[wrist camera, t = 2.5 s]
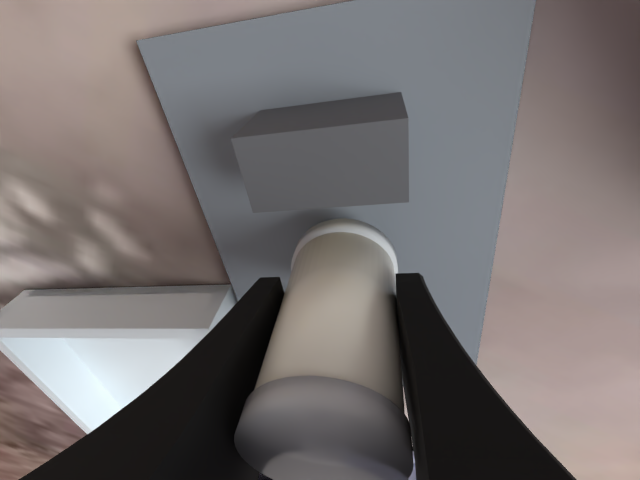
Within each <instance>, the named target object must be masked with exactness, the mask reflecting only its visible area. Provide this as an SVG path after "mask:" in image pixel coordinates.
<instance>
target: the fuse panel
mask: <svg viewBox="0 0 640 480" xmlns="http://www.w3.org/2000/svg"><path fill="white" fill-rule="evenodd" d="M535 3H536V0H353V1H348V2H342V3H337V4H331V5H326V6H321V7H315V8H310V9H304V10H299V11H294V12H288V13H283V14H277V15H272V16H267V17H261V18H256V19H250V20H245V21H240V22H234V23H229V24H223V25H218V26H213V27H207V28H202V29H196V30H191V31H186V32H180V33H175V34H169V35H164V36H159V37H153V38H148V39H142V40H137V44H138V47H139V49H140V52H141V54H142V57H143V59H144V62H145V65H146V67H147V70H148V72H149V75H150V77H151V80H152V82H153V85H154V88H155V90H156V93H157V95H158V98H159V100H160V103H161V105H162V108H163V111H164V113H165V116H166V118H167V121H168V123H169V126H170V128H171V131H172V134H173V136H174V139H175V141H176V144H177V146H178V149H179V151H180V154H181V157H182V159H183V162H184V164H185V167H186V169H187V172H188V174H189V177H190V180H191V182H192V185H193V187H194V190H195V192H196V195H197V197H198V200H199V203H200V205H201V208H202V210H203V213H204V215H205V218H206V220H207V223H208V226H209V228H210V231H211V233H212V236H213V238H214V241H215V244H216V246H217V249H218V251H219V254H220V256H221V259H222V261H223V264H224V267H225V269H226V272H227V274H228V277H229V279H230V282H231V284H232V287H233V290H234V292H235V295H236V297H237V300H238V301H239V300H240V299H241V298H242V296H243V295H244V294H245V293H246V292H247V291H248V290H249V289H250V288H251V287H252V285H253V284H254V283H255V282H256V281H257V280H258V279H259V278H260V277H280V279H281V283H282V286H283V290H284V294H285V291H286V287H287V284H288V281H289V278H290V275H291V262H292V258H293V255H294V252H295V249H296V246H297V243H298V241H299V239H300V238H301V237H302V235H303V234H304V233H305V232H306V231H307V230H308V229H310V228H311V227H313V226H314V225H316V224H318V223H321V222H324V221H327V220H331V219H354V220H359V221H362V222H365V223H368V224H370V225H372V226H374V227H375V228H377V229H379V230H380V231H381V232H382V233H384V234H385V235H386V236H387V238H388V239H389V240H390V241H391V243H392V244H393V247H394V249H395V251H396V255H397V264H398V273H420V274H421V275H422V276H423V278H424V281H425V283H426V285H427V287H428V290H429V292H430V294H431V296H432V298H433V299H434V301H435V303H436V305H437V307H438V308H439V310H440V312H441V314H442V315H443V317H444V319H445V320H446V322H447V323H448V325H449V327H450V328H451V330H452V331H453V333H454V334H455V336H456V337H457V339H458V340H459V342H460V343H461V345H462V346H463V348H464V349H465V351H466V352H467V353H468V355H469V356H470V358H471V359H472V360H473V362H474V363H475V364H477V358H478V352H479V346H480V340H481V333H482V327H483V321H484V315H485V309H486V303H487V297H488V291H489V285H490V278H491V272H492V266H493V260H494V254H495V248H496V242H497V236H498V230H499V223H500V217H501V211H502V205H503V199H504V193H505V187H506V181H507V174H508V168H509V162H510V156H511V150H512V144H513V138H514V132H515V126H516V119H517V113H518V107H519V101H520V95H521V89H522V83H523V77H524V71H525V64H526V58H527V52H528V46H529V40H530V34H531V28H532V22H533V16H534V9H535ZM402 385H403V380H402Z"/></svg>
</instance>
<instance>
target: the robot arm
mask: <svg viewBox="0 0 640 480" xmlns="http://www.w3.org/2000/svg"><path fill="white" fill-rule="evenodd" d="M395 275H396V300H397V315H398V328H399V341H400V356H401V371H402V380H403V386H404V392H405V399H406V405H407V411H408V418H409V424H410V428H411V437H412V443H413V464H414V466H413V471H412V473H411V476H410V477H409V478H408V480H576V479H575V478H574V477H573V476H572V474H571V473H570V472H569V471H568V470H567V469H566V468H565V467H564V466H563V465H562V464H561V463H560V462H559V461H558V460H557V459H556V458H555V457H554V456H553V455H552V454H551V453H550V452H549V450H548V449H547V448H546V447H545V446H544V445H543V444H542V443H541V442H540V441H539V440H538V439H537V438H536V437H535V436H534V435H533V434H532V432H531V431H530V430H529V429H528V428H527V427H526V426H525V424H524V423H523V422H522V421H521V420H520V419H519V418H518V416H517V415H516V414H515V413H514V412H513V411H512V410H511V408H510V407H509V406H508V405H507V404H506V402H505V401H504V400H503V399H502V398H501V396H500V395H499V394H498V393H497V392H496V390H495V389H494V388H493V387H492V385H491V384H490V383H489V382H488V380H487V379H486V378H485V376H484V375H483V374H482V372H481V371H480V370H479V369H478V367H477V366H476V364H475V363H474V362H473V360H472V359H471V358H470V356H469V355H468V353H467V352H466V351H465V349H464V348H463V346H462V345H461V343H460V342H459V340H458V339H457V337H456V336H455V334H454V333H453V331H452V330H451V328H450V327H449V325H448V323H447V322H446V320H445V319H444V317H443V315H442V314H441V312H440V310H439V308H438V307H437V305H436V303H435V301H434V299H433V298H432V296H431V294H430V292H429V290H428V287H427V285H426V283H425V281H424V278H423V276H422V275H421V274H420V273H395ZM283 297H284V290H283V286H282V283H281V279H280V277H260V278H259V279H258V280H257V281H256V282H255V283H254V284H253V285H252V287H251V288H250V289H249V290H248V291H247V292H246V293H245V294H244V295H243V296H242V298H241V299H240V300H239V301H238V302H237V303H236V304H235V305H234V306H233V307H232V309H231V310H230V311H229V312H228V313H227V314H226V315H225V316H224V317H223V318H222V319H221V320H220V321H219V322H218V323H217V325H216V326H215V327H214V328H213V329H212V330H211V331H210V332H209V333H208V334H207V335H206V336H205V337H204V338H203V339H202V340H201V341H200V342H199V343H198V344H197V345H196V346H195V347H194V348H193V349H192V350H191V351H190V352H189V353H187V354H186V355H185V356H184V357H183V358H182V359H181V360H180V361H179V362H178V363H177V364H176V365H175V366H174V367H173V368H171V369H170V370H169V371H168V372H167V373H166V374H165V375H163V376H162V377H161V378H160V379H159V380H158V381H156V382H155V383H154V384H153V385H152V386H150V387H149V388H148V389H147V390H146V391H144V392H143V393H142V394H141V395H139V396H138V397H137V398H136V399H134V400H133V401H132V402H130V403H129V404H128V405H126V406H125V407H124V408H122V409H121V410H120V411H118V412H117V413H116V414H114V415H113V416H112V417H111V418H109V419H108V420H107V421H105V422H104V423H103V424H101V425H100V426H99V427H97V428H96V429H94V430H93V431H92V432H90V433H89V434H87V435H86V436H84V437H83V438H82V439H80V440H79V441H77V442H76V443H74V444H73V445H71V446H70V447H69V448H67V449H65V450H64V451H62V452H61V453H59V454H58V455H56V456H55V457H53V458H52V459H50V460H49V461H47V462H46V463H44V464H43V465H41V466H40V467H38V468H37V469H35V470H33V471H32V472H30V473H29V474H27V475H26V476H24V477H22V478H21V479H19V480H258V476H259V471H257V470H256V469H254V468H253V467H251V466H250V465H249V464H248V463H247V462H246V461H245V460H244V459H243V458H242V457H241V456H240V454H239V453H238V451H237V449H236V447H235V443H234V435H235V432H236V429H237V426H238V423H239V420H240V416H241V413H242V410H243V407H244V404H245V402H246V399H247V398H248V396H249V395H250V394H251V393H252V392H253V391H254V389H255V386H256V383H257V379H258V376H259V373H260V370H261V367H262V364H263V360H264V357H265V354H266V351H267V348H268V345H269V341H270V338H271V335H272V332H273V329H274V325H275V322H276V319H277V316H278V313H279V310H280V306H281V303H282V300H283Z"/></svg>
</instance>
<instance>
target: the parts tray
mask: <svg viewBox="0 0 640 480" xmlns="http://www.w3.org/2000/svg"><path fill="white" fill-rule="evenodd" d="M237 302H238V300H237V298H236V295H235V293H234V290H233V288H232V285H231V284H230V285H191V286H153V287H114V288H76V289H37V290H24V291H23V292H21V293H20V294H19V295H18V296H17V297H15V298H14V299H13V300H12V301H10V302H9V303H8V304H7V305H6V306H4V307H3V308H2V309H1V310H0V350H1V351H2V352H3V353H4V354H5V355H6V356H7V357H8V358H9V359H10V360H11V361H12V362H13V363H14V364H15V365H16V366H17V367H18V368H19V369H20V370H21V371H22V372H23V373H24V374H25V375H26V376H27V377H29V378H30V379H31V380H32V381H33V382H34V383H35V384H36V385H37V386H38V387H39V388H40V389H41V390H42V391H43V392H44V393H45V394H46V395H47V396H48V397H49V398H50V399H51V400H52V401H53V402H54V403H55V404H56V405H57V406H59V407H60V408H61V409H62V410H63V411H64V412H65V413H66V414H67V415H68V416H69V417H70V418H71V419H72V420H73V421H74V422H75V423H76V424H77V425H78V426H79V427H80V428H81V429H82V430H83V431H84V432H85V433H86V434H89V433H90V432H92V431H93V430H94V429H96V428H97V427H99V426H100V425H101V424H103V423H104V422H105V421H107V420H108V419H109V418H111V417H112V416H113V415H114V414H116V413H117V412H118V411H120V410H121V409H122V408H124V407H125V406H126V405H128V404H129V403H130V402H132V401H133V400H134V399H136V398H137V397H138V396H139V395H141V394H142V393H143V392H144V391H146V390H147V389H148V388H149V387H150V386H152V385H153V384H154V383H155V382H156V381H158V380H159V379H160V378H161V377H162V376H163V375H165V374H166V373H167V372H168V371H169V370H170V369H171V368H173V367H174V366H175V365H176V364H177V363H178V362H179V361H180V360H181V359H182V358H183V357H184V356H185V355H186V354H187V353H189V352H190V351H191V350H192V349H193V348H194V347H195V346H196V345H197V344H198V343H199V342H200V341H201V340H202V339H203V338H204V337H205V336H206V335H207V334H208V333H209V332H210V331H211V330H212V329H213V328H214V327H215V326H216V325H217V323H218V322H219V321H220V320H221V319H222V318H223V317H224V316H225V315H226V314H227V313H228V312H229V311H230V310H231V309H232V307H233V306H234V305H235V304H236V303H237Z"/></svg>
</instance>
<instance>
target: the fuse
mask: <svg viewBox="0 0 640 480" xmlns="http://www.w3.org/2000/svg"><path fill="white" fill-rule="evenodd" d="M395 273H398V264H397V255H396V251H395V249H394V247H393V244H392V243H391V241H390V240H389V239H388V238H387V236H386V235H385V234H384V233H382V232H381V231H380V230H379V229H377V228H375V227H374V226H372V225H370V224H368V223H365V222H362V221H359V220H354V219H331V220H327V221H324V222H321V223H318V224H316V225H314V226H313V227H311V228H310V229H308V230H307V231H306V232H305V233H304V234H303V235H302V237H301V238H300V239H299V241H298V243H297V246H296V249H295V252H294V255H293V258H292V262H291V275H290V278H289V281H288V284H287V287H286V291H285V294H284V297H283V300H282V303H281V306H280V310H279V313H278V316H277V319H276V322H275V325H274V329H273V332H272V335H271V338H270V341H269V345H268V348H267V351H266V354H265V357H264V360H263V364H262V367H261V370H260V373H259V376H258V379H257V383H256V386H255V389H254V391H253V392H252V393H251V394H250V395H249V396H248V398H247V399H246V402H245V404H244V407H243V410H242V413H241V416H240V420H239V423H238V426H237V429H236V432H235V435H234V443H235V447H236V449H237V451H238V453H239V454H240V456H241V457H242V458H243V459H244V460H245V461H246V462H247V463H248V464H249V465H250V466H251V467H253V468H254V469H256V470H257V471H259V472H260V473H262V474H264V475H265V476H267V477H269V478H271V479H273V480H407V479H408V478H409V477H410V476H411V473H412V471H413V466H414V464H413V451H412V439H411V428H410V424H409V421H408V419H407V417H406V416H405V414H404V400H403V385H402V371H401V356H400V341H399V328H398V315H397V300H396V275H395Z"/></svg>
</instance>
